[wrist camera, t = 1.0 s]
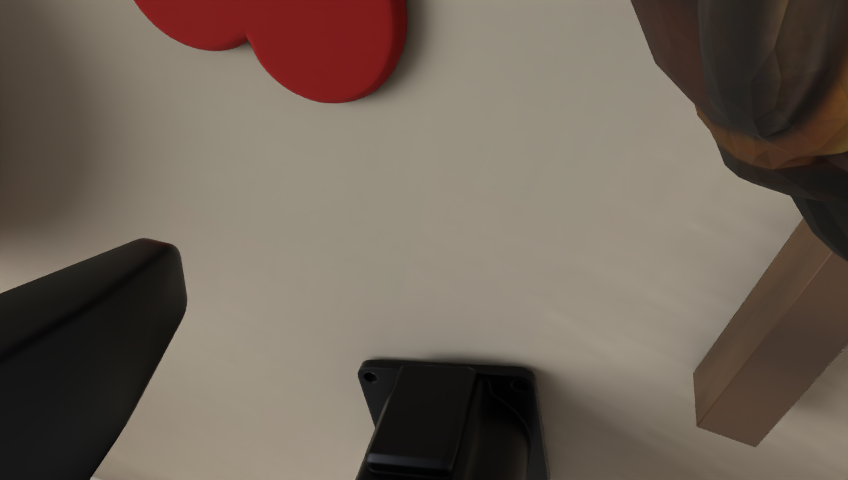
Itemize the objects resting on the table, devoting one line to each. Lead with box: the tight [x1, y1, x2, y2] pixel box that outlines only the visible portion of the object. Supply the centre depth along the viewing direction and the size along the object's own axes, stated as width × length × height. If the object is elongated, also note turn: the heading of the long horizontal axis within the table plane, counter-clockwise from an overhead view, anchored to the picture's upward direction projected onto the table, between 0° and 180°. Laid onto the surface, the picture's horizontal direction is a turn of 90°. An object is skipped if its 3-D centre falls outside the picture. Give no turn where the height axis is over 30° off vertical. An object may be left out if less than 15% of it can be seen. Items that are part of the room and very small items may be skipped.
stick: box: [693, 218, 848, 447], centre depth 19 cm, size 7×2×2 cm, turn 168°
